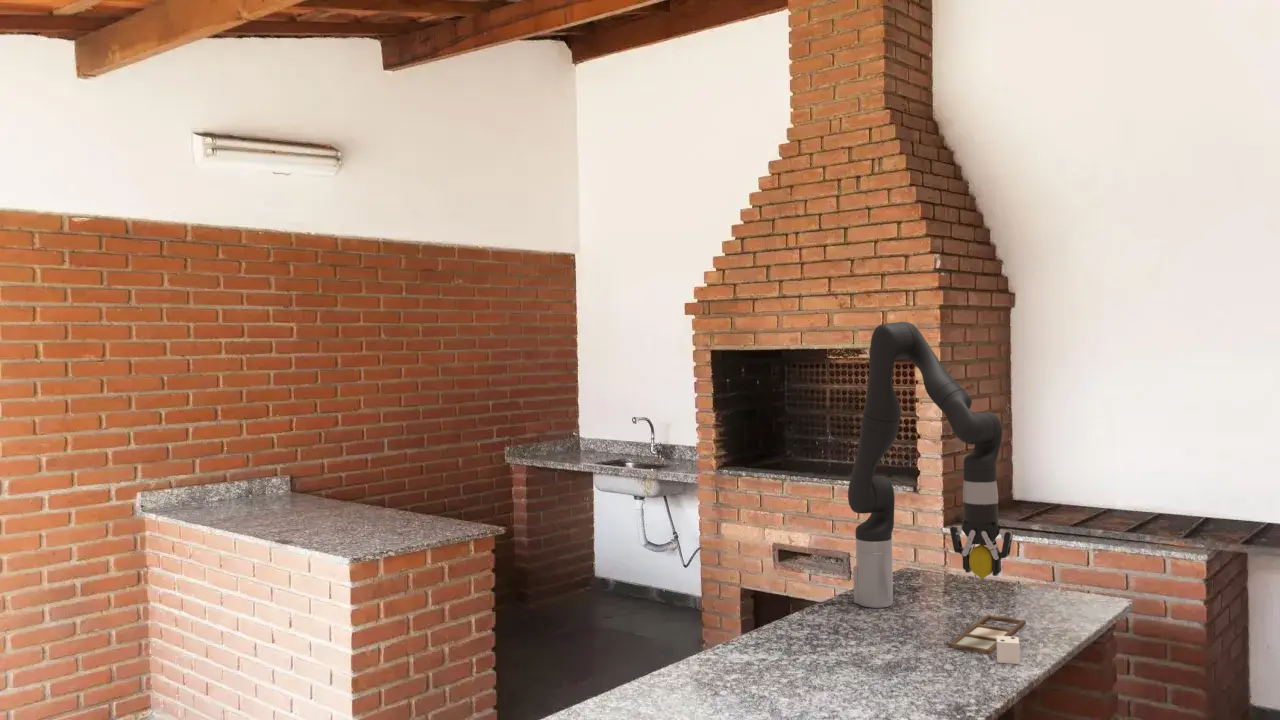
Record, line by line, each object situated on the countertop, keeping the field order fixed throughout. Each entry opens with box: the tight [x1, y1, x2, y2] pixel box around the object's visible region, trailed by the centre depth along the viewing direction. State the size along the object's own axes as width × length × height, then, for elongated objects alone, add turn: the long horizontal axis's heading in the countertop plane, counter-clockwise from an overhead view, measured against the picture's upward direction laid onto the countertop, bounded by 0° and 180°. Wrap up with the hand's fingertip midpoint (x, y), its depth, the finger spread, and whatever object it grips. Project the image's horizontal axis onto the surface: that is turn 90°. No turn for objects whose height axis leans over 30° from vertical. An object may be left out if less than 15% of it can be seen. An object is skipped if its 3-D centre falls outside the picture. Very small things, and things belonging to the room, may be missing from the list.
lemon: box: [969, 544, 994, 580], centre depth 226 cm, size 6×6×8 cm
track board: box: [948, 614, 1027, 655], centre depth 231 cm, size 9×26×1 cm, turn 142°
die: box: [996, 635, 1021, 665], centre depth 214 cm, size 4×4×5 cm
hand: (982, 573), depth 227 cm, fingers closed on lemon, 5 cm apart
